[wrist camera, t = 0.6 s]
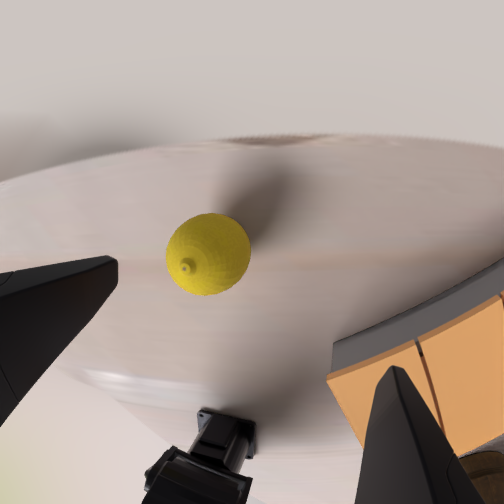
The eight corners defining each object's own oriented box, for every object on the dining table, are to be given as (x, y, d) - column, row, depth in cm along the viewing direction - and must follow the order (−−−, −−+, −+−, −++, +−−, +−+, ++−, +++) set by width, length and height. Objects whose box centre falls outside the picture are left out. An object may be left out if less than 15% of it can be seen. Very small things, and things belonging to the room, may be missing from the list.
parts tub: (381, 441, 27) (382, 475, 22) (333, 342, 25) (331, 376, 21) (542, 360, 20) (562, 385, 15) (528, 241, 19) (559, 255, 14)
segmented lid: (381, 468, 23) (381, 542, 15) (327, 365, 22) (316, 455, 13) (559, 379, 16) (597, 433, 8) (552, 247, 15) (624, 283, 7)
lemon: (232, 193, 25) (187, 202, 17) (275, 249, 25) (248, 281, 17) (185, 235, 27) (130, 258, 19) (224, 286, 27) (183, 327, 19)
